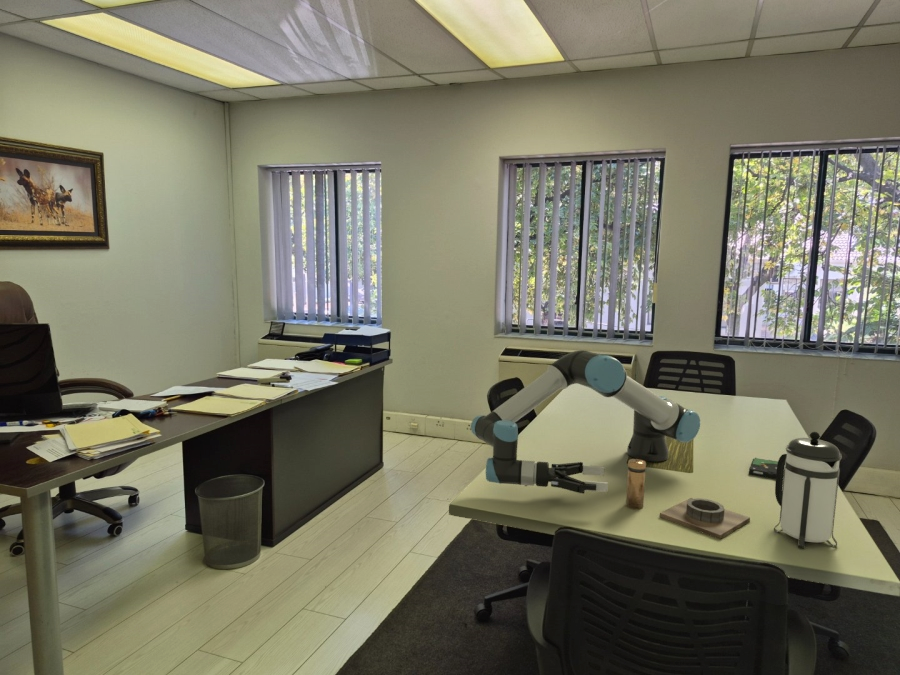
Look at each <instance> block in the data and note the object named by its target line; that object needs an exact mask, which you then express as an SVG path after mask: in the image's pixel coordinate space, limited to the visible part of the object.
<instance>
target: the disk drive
mask: <svg viewBox="0 0 900 675" xmlns="http://www.w3.org/2000/svg"><path fill="white" fill-rule="evenodd" d="M777 465H778V460H772V459H771V460H770V459H763V458H757V457H754V458H753V459H752V461H751V464H750V466H749V469H748V470H749V471H748V475H751V476H757V477H761V478H765V479H766V478H767V479H773V480H776V473H777Z"/></svg>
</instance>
